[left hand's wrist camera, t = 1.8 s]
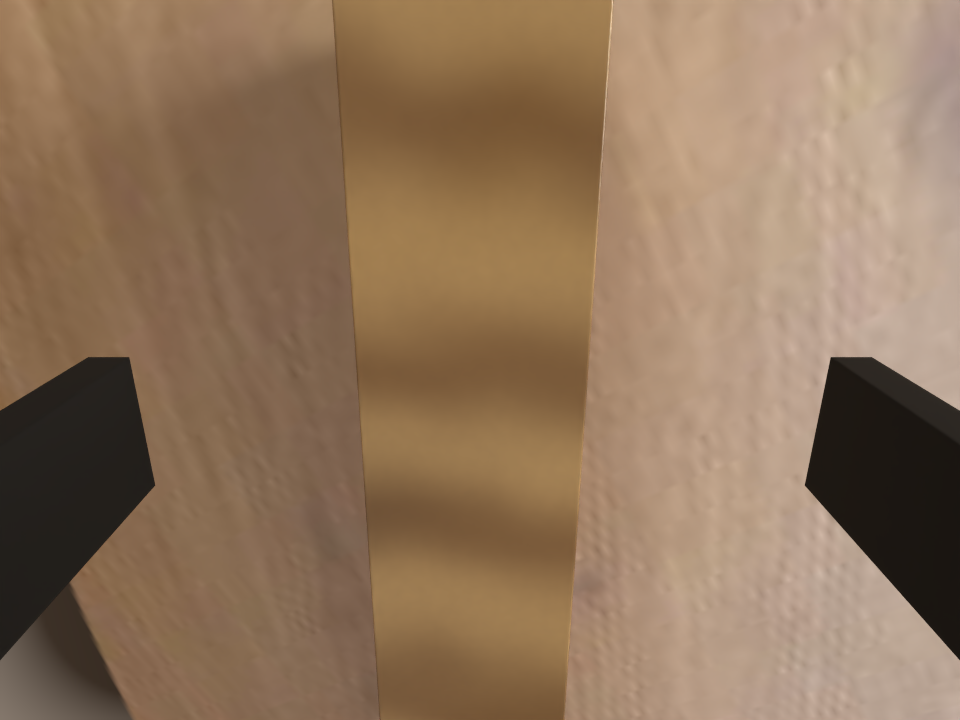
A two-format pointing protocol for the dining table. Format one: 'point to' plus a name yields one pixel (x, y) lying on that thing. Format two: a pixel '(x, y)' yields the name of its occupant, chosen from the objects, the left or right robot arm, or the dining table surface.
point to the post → (472, 334)
